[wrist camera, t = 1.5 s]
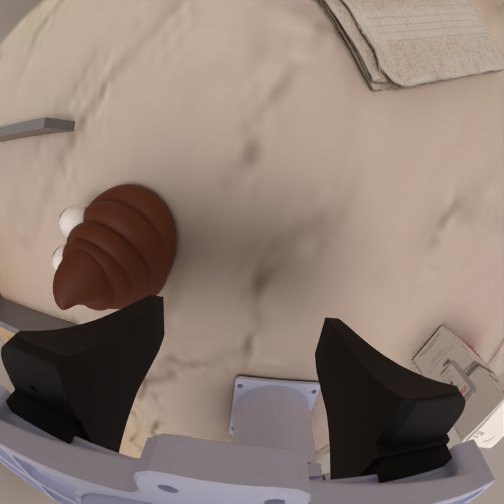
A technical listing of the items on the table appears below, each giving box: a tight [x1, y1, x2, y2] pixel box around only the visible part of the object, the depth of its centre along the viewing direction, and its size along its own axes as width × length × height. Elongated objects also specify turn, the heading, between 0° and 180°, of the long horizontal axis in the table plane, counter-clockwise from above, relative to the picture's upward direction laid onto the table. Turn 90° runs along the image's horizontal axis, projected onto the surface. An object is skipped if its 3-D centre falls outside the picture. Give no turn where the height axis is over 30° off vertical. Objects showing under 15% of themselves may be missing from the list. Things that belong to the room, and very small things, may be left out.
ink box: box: [413, 326, 504, 448], centre depth 18 cm, size 9×5×12 cm, turn 58°
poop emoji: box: [53, 185, 176, 311], centre depth 17 cm, size 10×8×9 cm
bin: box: [0, 118, 76, 334], centre depth 19 cm, size 20×15×4 cm
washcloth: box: [319, 0, 504, 91], centre depth 13 cm, size 12×18×3 cm, turn 115°
